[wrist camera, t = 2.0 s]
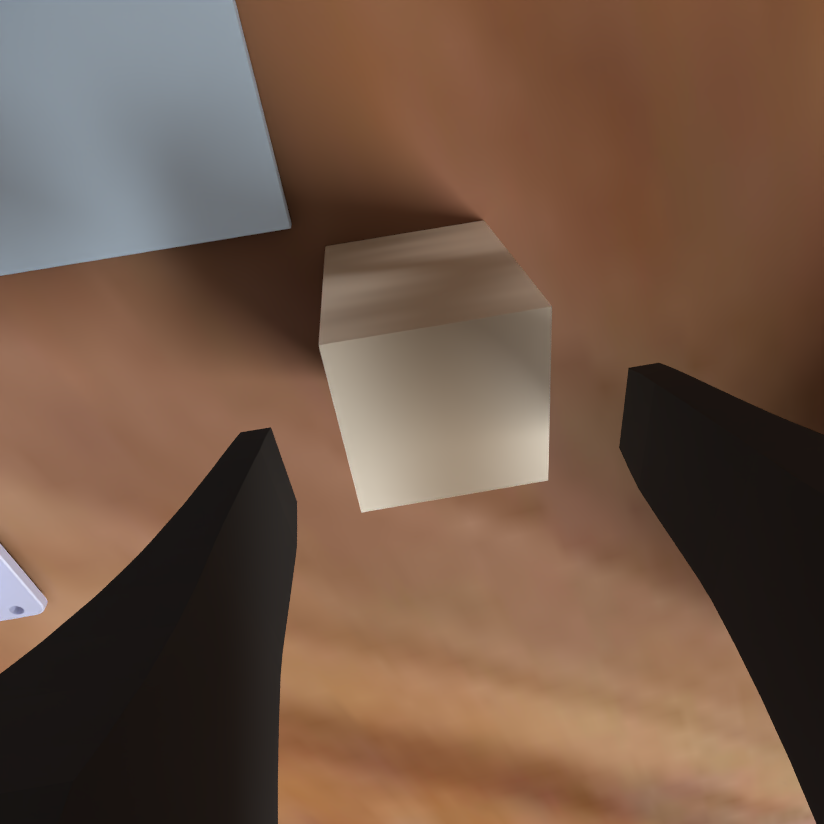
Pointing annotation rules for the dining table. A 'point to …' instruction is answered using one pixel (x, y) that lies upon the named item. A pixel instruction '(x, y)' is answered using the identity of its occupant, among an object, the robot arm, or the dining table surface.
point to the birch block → (436, 364)
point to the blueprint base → (128, 131)
